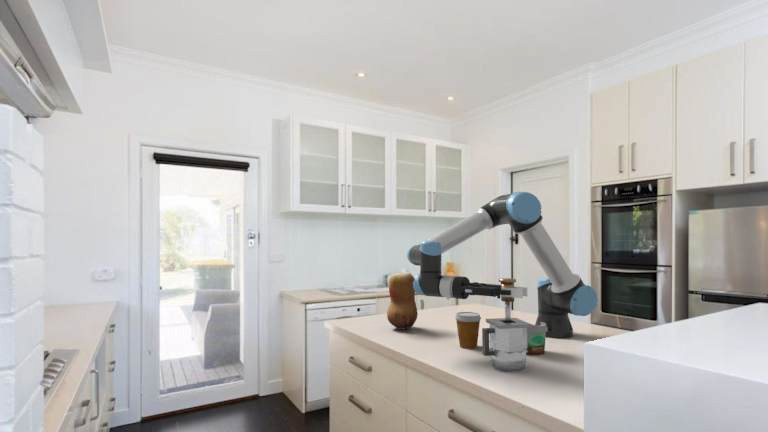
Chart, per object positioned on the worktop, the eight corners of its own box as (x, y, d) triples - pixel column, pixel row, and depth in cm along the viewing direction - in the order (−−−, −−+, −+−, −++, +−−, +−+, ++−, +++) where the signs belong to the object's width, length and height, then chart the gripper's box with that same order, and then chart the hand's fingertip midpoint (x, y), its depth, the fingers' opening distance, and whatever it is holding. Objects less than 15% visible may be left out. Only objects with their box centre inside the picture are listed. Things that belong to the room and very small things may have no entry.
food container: (530, 358, 140) (529, 328, 140) (516, 353, 145) (516, 324, 145) (556, 353, 145) (555, 324, 146) (542, 349, 151) (541, 321, 151)
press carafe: (516, 360, 137) (515, 317, 137) (532, 371, 126) (531, 324, 127) (477, 363, 135) (477, 319, 135) (490, 373, 124) (490, 325, 125)
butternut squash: (382, 327, 187) (381, 271, 189) (407, 324, 194) (406, 270, 195) (398, 333, 175) (397, 274, 176) (424, 330, 182) (423, 272, 183)
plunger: (514, 331, 136) (513, 277, 136) (525, 337, 128) (524, 280, 129) (491, 332, 134) (491, 278, 135) (502, 338, 127) (501, 280, 128)
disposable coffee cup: (481, 350, 149) (481, 316, 150) (454, 349, 151) (454, 315, 152) (481, 343, 159) (480, 312, 159) (455, 342, 160) (455, 311, 161)
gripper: (466, 295, 149) (533, 301, 135) (444, 301, 135) (515, 308, 122) (466, 274, 150) (532, 278, 136) (443, 278, 136) (515, 282, 122)
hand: (524, 292), depth 129 cm, fingers closed on plunger, 4 cm apart
